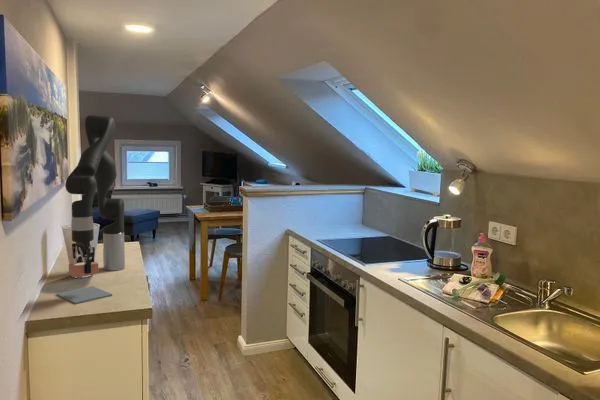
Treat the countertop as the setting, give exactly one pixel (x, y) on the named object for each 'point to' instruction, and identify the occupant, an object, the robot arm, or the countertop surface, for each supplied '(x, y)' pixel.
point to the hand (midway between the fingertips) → (83, 271)
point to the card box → (82, 269)
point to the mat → (84, 294)
